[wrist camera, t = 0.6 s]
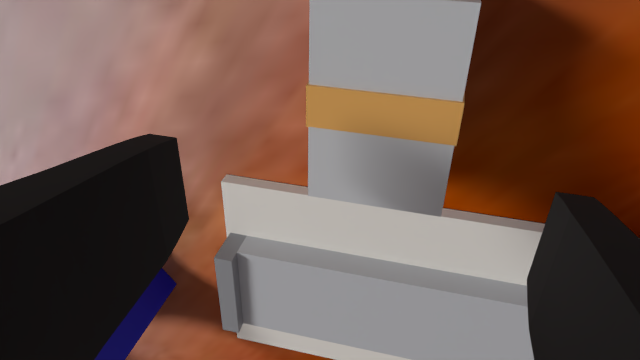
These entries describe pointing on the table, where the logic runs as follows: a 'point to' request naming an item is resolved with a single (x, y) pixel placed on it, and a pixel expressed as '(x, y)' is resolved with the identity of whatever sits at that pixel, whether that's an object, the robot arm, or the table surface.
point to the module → (386, 99)
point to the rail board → (372, 277)
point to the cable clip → (138, 318)
